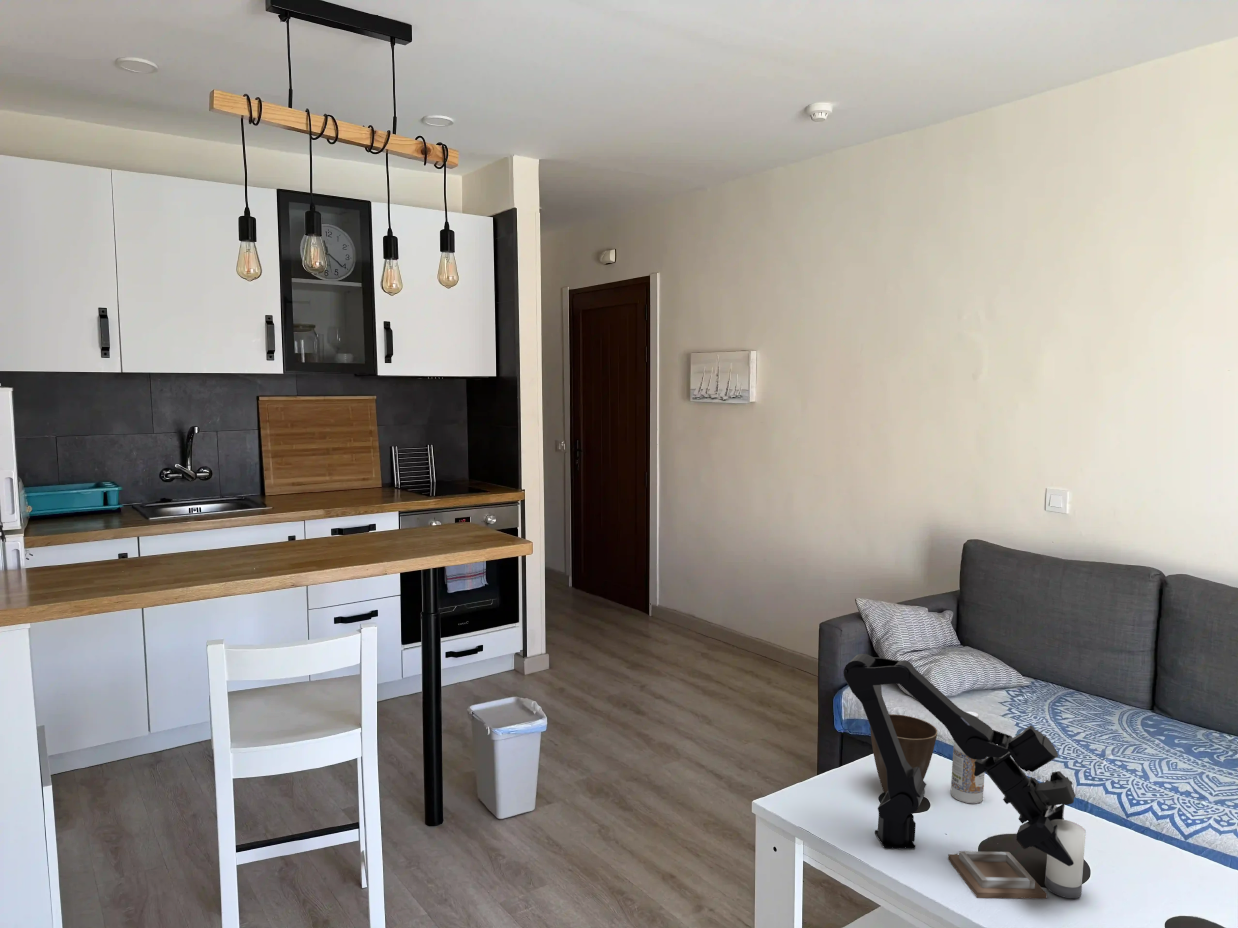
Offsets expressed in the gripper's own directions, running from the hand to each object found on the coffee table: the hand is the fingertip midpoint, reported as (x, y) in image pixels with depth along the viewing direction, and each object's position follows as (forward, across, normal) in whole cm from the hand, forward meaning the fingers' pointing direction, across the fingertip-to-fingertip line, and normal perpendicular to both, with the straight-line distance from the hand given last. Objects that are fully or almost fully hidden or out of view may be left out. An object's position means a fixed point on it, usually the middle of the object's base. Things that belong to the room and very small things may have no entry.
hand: (1073, 857), depth 156 cm
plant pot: (-22, +22, +32) cm, 44 cm away
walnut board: (-4, -3, +14) cm, 15 cm away
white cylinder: (+4, 0, +6) cm, 7 cm away
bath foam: (-12, +29, +23) cm, 39 cm away
